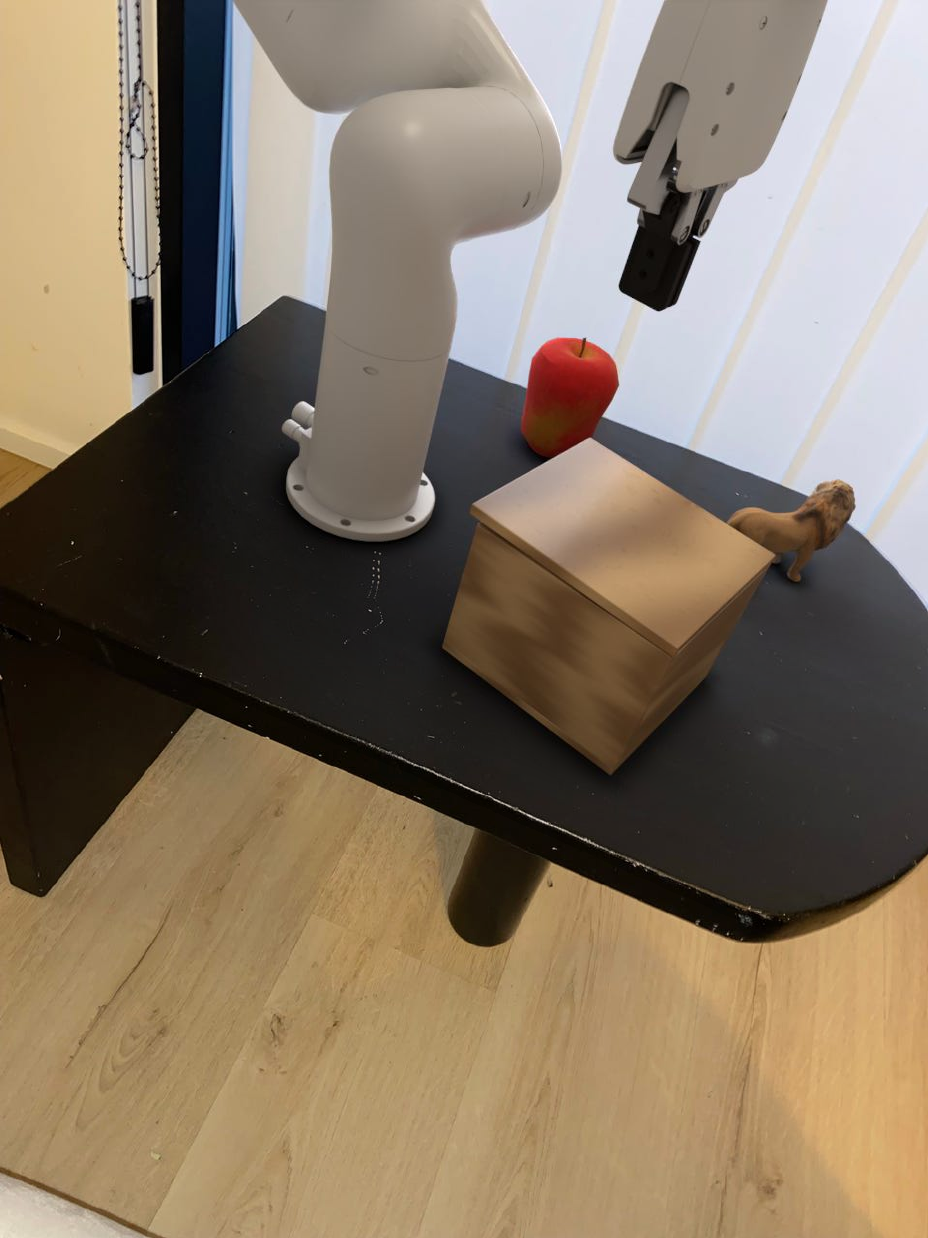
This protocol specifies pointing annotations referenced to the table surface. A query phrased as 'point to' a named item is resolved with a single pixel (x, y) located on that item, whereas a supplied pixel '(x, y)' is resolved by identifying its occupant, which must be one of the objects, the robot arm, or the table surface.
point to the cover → (626, 542)
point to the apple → (566, 394)
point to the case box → (573, 652)
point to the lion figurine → (799, 524)
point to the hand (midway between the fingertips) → (646, 298)
